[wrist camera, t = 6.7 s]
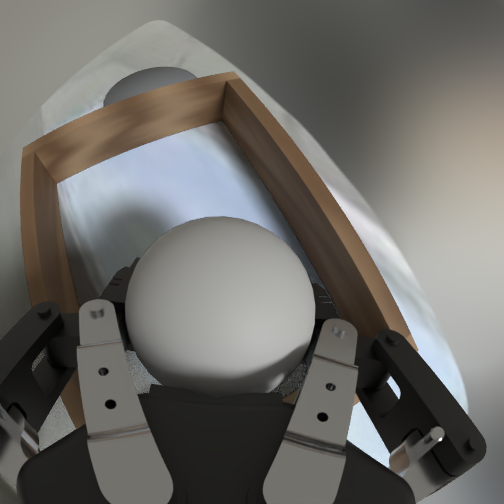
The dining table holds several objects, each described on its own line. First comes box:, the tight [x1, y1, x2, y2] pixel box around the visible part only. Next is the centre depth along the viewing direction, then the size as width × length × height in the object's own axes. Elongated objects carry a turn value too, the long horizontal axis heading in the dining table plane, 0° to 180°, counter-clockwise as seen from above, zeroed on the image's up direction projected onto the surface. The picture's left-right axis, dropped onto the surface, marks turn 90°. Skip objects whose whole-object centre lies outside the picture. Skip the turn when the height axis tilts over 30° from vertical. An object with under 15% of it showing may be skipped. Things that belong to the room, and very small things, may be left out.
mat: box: [104, 67, 197, 107], centre depth 23 cm, size 10×10×1 cm
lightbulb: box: [125, 216, 315, 398], centre depth 11 cm, size 6×6×11 cm
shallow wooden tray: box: [20, 71, 418, 429], centre depth 15 cm, size 18×24×4 cm
